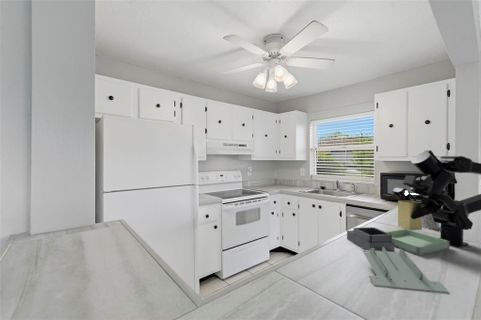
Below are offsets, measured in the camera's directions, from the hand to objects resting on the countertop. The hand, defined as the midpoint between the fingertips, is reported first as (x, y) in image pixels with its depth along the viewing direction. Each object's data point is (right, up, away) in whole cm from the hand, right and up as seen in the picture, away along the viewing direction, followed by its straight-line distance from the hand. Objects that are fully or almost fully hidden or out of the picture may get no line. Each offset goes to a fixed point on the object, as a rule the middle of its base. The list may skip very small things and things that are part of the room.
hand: (406, 216), depth 73 cm
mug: (+26, -10, +21) cm, 35 cm away
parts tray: (+2, -10, 0) cm, 10 cm away
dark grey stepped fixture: (-13, -9, -1) cm, 16 cm away
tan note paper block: (+1, -4, 0) cm, 4 cm away
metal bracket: (-18, -10, -20) cm, 29 cm away
